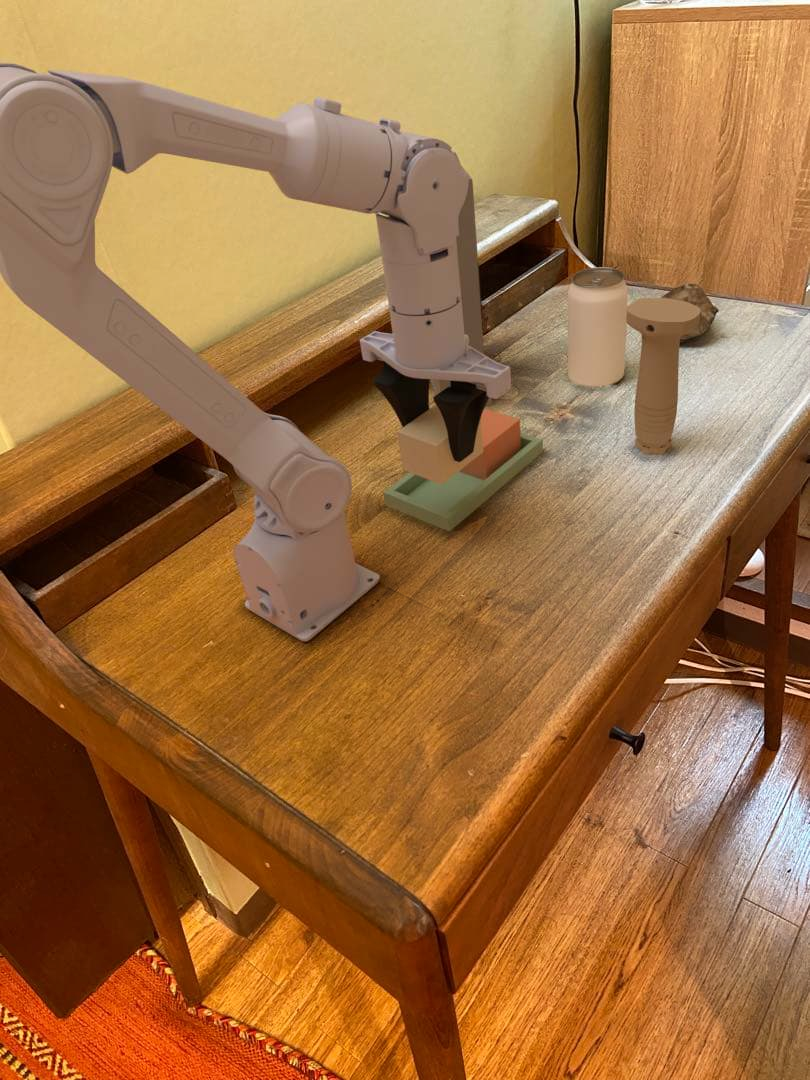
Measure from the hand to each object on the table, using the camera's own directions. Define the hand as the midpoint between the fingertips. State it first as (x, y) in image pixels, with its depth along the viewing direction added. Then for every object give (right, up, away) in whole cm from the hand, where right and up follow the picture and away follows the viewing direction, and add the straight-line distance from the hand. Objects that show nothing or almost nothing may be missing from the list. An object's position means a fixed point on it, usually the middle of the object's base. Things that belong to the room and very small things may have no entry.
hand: (441, 448), depth 73 cm
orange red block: (+5, 0, +12) cm, 13 cm away
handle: (+22, +1, +11) cm, 24 cm away
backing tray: (+3, -2, +10) cm, 11 cm away
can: (+19, +11, +24) cm, 33 cm away
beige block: (0, -1, +1) cm, 1 cm away
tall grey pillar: (+3, +10, +26) cm, 29 cm away
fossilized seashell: (+31, +18, +31) cm, 47 cm away
